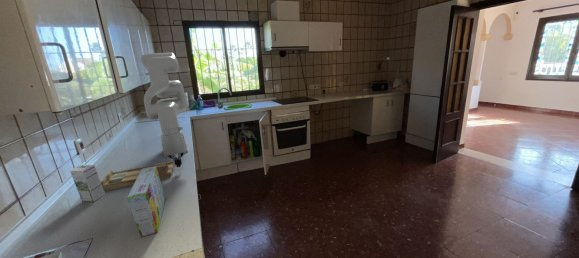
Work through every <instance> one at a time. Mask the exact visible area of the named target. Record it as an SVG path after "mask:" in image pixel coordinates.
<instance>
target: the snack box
mask: <svg viewBox="0 0 579 258" xmlns="http://www.w3.org/2000/svg"><path fill="white" fill-rule="evenodd" d="M165 195H166V194H165V192H164V188H163V184H162V182H161V179H160V178H159V174H158V171H157V167H156V166H153V167H148V168H143V169H142V170H141V172H140V174H139V175H138V177H137V179H136V181H135V183H134V185H132V187H131V189H130V191H129V194H128V195H127V197H126V199H127V202H128V204H129V207H130V209H131V212H132V215H133V218H134V222H135V224H136V226H137V230H138V233H139V236H140V238H143V237H146V236H149V235H154V234H157V233H158V232H159V228H160V224H161V219H162V215H163V212H164V207H165V203H166V199H167V198H166V196H165Z"/></svg>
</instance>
